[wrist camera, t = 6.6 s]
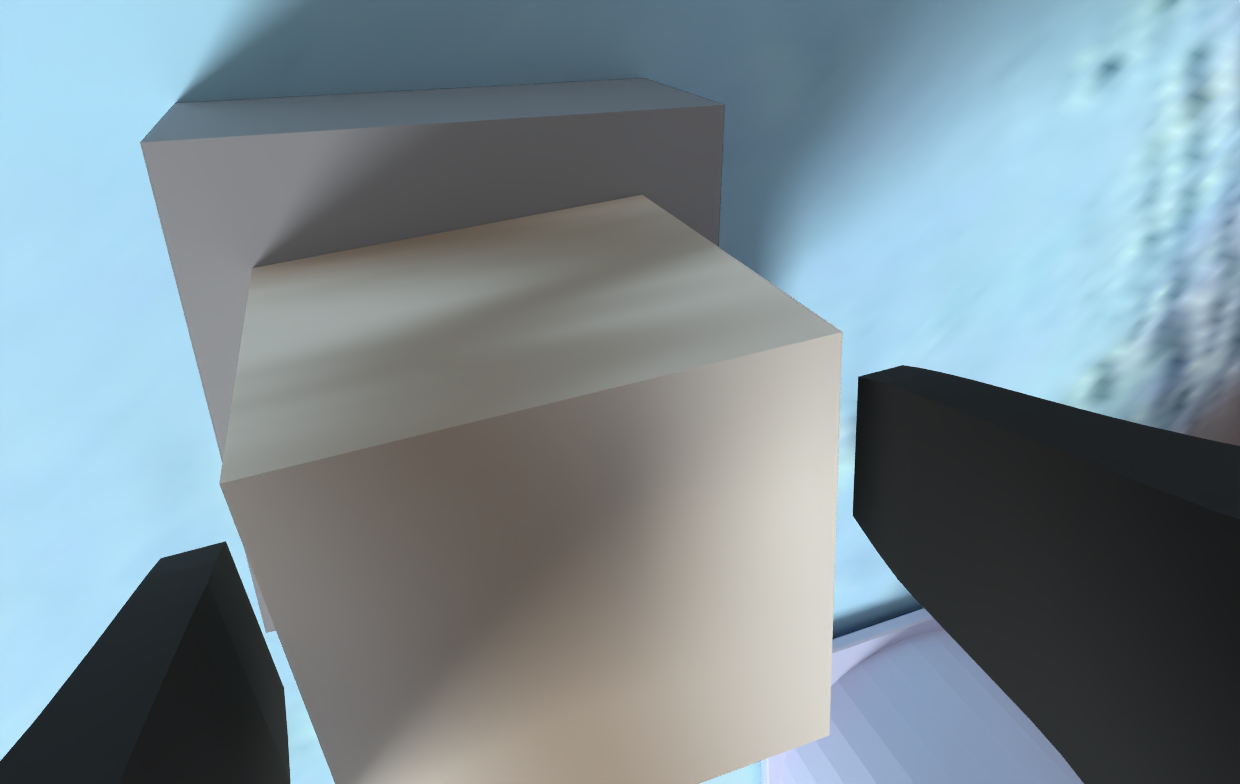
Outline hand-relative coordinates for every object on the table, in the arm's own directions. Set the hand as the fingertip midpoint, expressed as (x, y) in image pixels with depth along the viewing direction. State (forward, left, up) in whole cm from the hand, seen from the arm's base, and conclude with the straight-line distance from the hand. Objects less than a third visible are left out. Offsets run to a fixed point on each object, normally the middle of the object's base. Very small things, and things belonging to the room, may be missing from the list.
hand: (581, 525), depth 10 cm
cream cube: (0, 0, -3) cm, 3 cm away
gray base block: (0, -1, -7) cm, 7 cm away
